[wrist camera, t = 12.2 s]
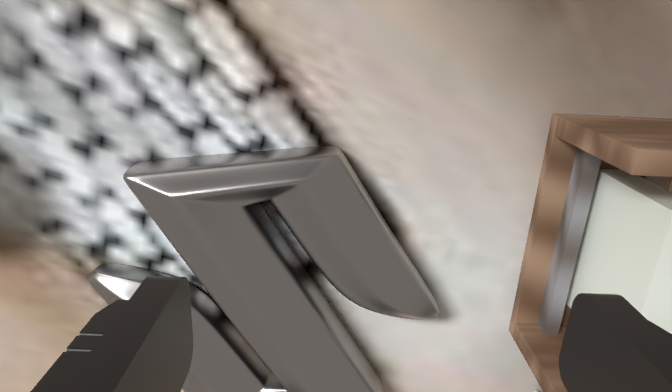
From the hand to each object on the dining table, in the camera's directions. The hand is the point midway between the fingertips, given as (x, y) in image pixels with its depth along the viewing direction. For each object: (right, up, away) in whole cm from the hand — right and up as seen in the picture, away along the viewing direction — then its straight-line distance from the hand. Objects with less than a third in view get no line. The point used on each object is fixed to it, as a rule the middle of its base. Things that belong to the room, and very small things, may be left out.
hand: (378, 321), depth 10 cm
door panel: (+21, -1, +29) cm, 36 cm away
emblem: (-7, -5, +32) cm, 33 cm away
